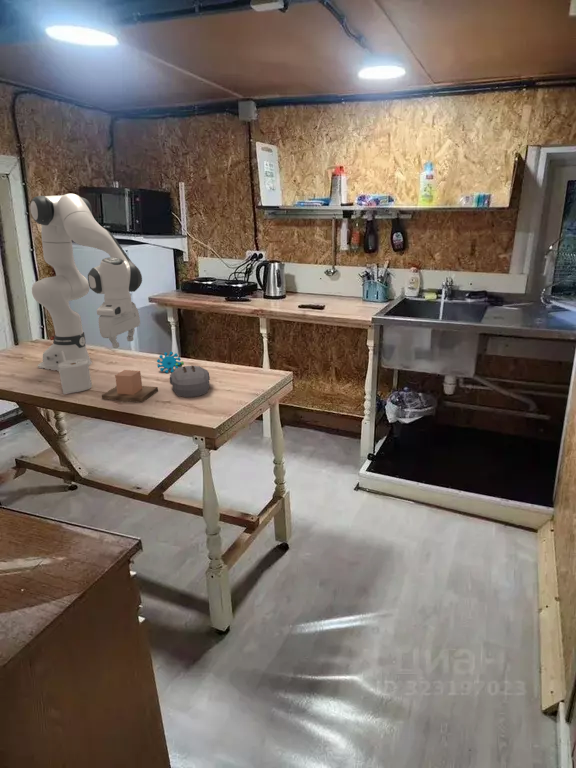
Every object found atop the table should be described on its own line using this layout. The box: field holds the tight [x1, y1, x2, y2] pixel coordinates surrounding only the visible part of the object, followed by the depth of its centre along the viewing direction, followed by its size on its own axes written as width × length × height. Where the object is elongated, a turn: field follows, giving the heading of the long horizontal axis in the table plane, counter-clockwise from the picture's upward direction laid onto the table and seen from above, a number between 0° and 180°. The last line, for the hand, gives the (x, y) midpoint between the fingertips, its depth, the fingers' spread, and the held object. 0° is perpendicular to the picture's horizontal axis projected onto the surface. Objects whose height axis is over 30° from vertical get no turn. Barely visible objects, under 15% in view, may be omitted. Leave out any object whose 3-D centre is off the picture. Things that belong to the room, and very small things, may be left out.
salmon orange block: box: [114, 369, 143, 395], centre depth 181 cm, size 6×6×7 cm
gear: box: [156, 351, 185, 374], centre depth 209 cm, size 11×6×10 cm
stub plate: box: [101, 385, 159, 403], centre depth 181 cm, size 16×12×6 cm
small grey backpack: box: [169, 365, 211, 398], centre depth 186 cm, size 15×8×20 cm
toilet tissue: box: [58, 359, 93, 395], centre depth 188 cm, size 11×12×10 cm
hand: (123, 344), depth 177 cm, fingers open, 8 cm apart
